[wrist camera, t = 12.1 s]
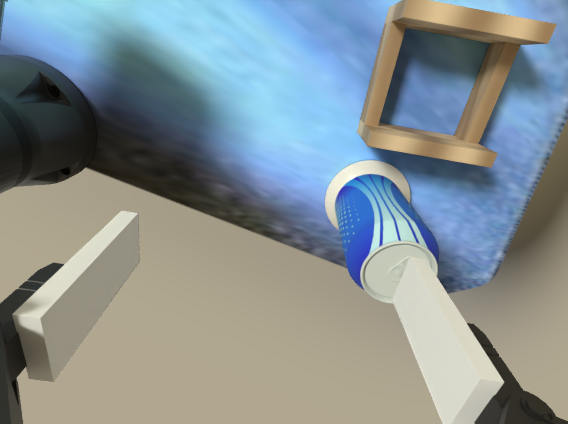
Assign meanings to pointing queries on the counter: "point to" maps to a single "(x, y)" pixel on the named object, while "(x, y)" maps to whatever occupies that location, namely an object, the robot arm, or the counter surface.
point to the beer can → (380, 234)
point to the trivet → (357, 170)
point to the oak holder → (495, 67)
